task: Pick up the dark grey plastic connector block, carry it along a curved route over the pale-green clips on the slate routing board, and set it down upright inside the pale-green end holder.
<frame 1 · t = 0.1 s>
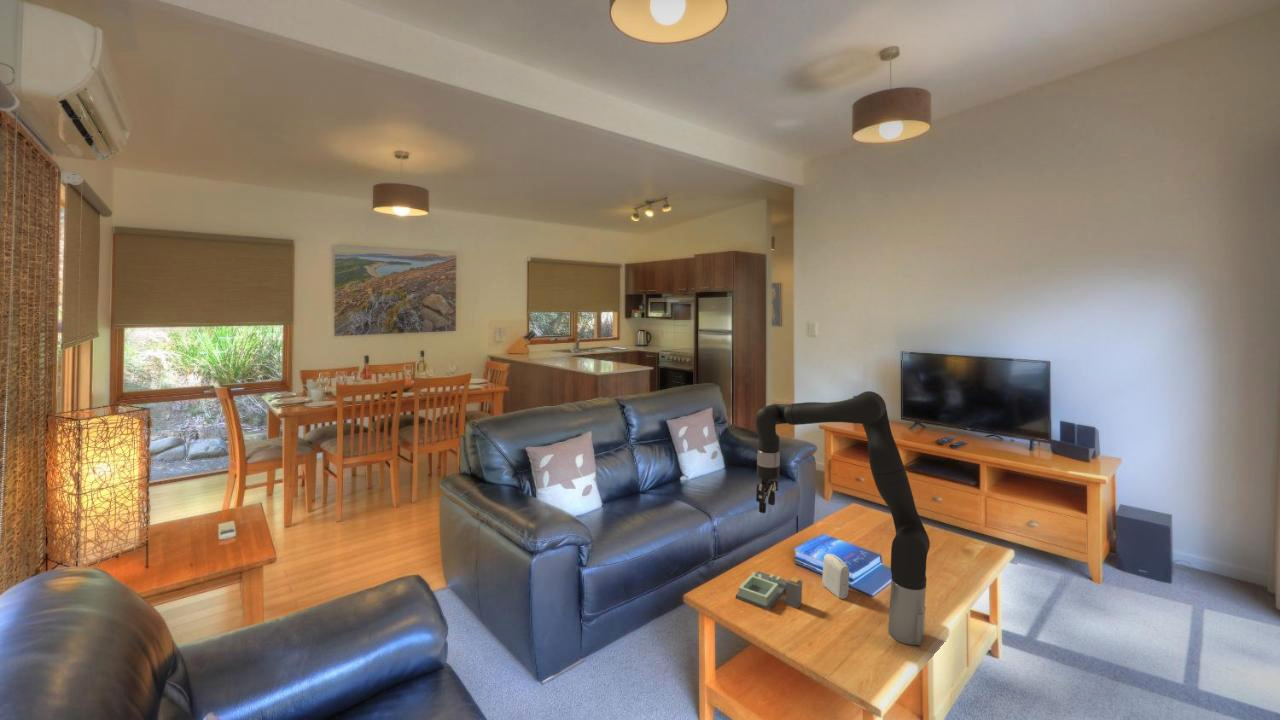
hand: (767, 508, 178), 29 cm above the table, fingers open, 8 cm apart
connector: (793, 603, 171), on the table
photo printer: (834, 591, 179), on the table
routing board: (763, 591, 179), on the table
end holder: (758, 597, 175), resting on routing board
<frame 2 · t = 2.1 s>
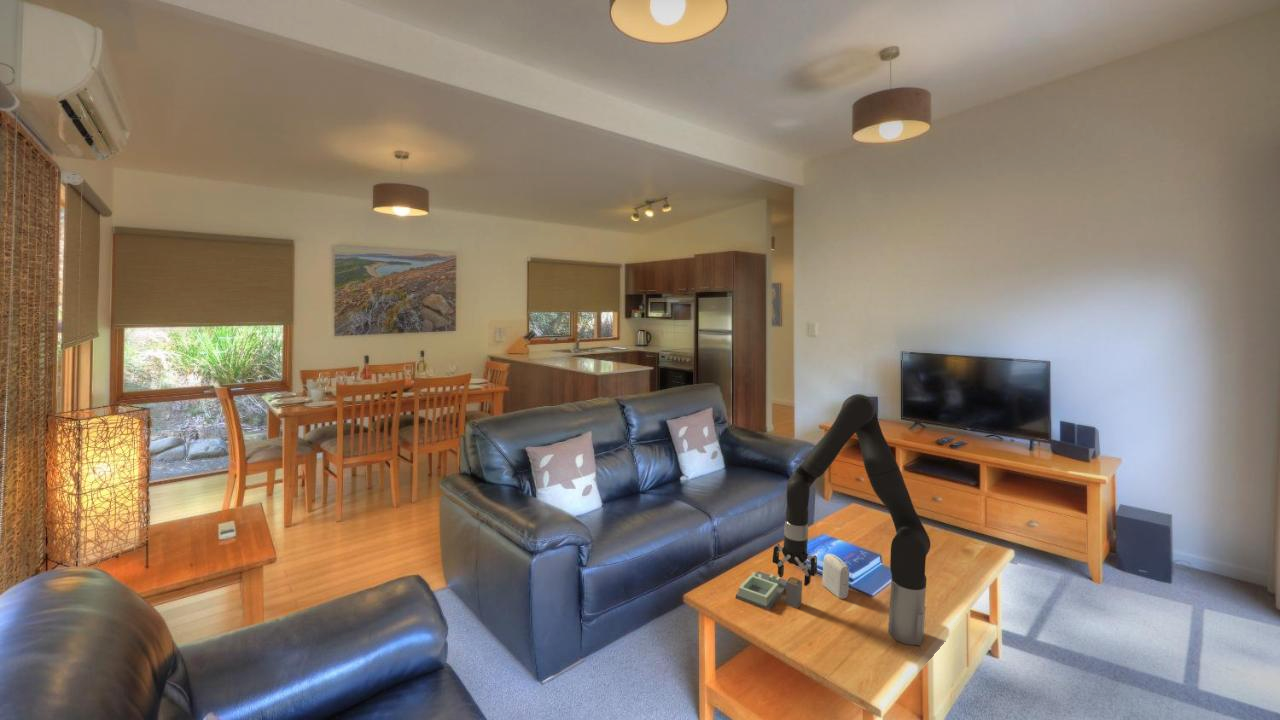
hand: (793, 580, 171), 8 cm above the table, fingers open, 8 cm apart
nothing on the table moved.
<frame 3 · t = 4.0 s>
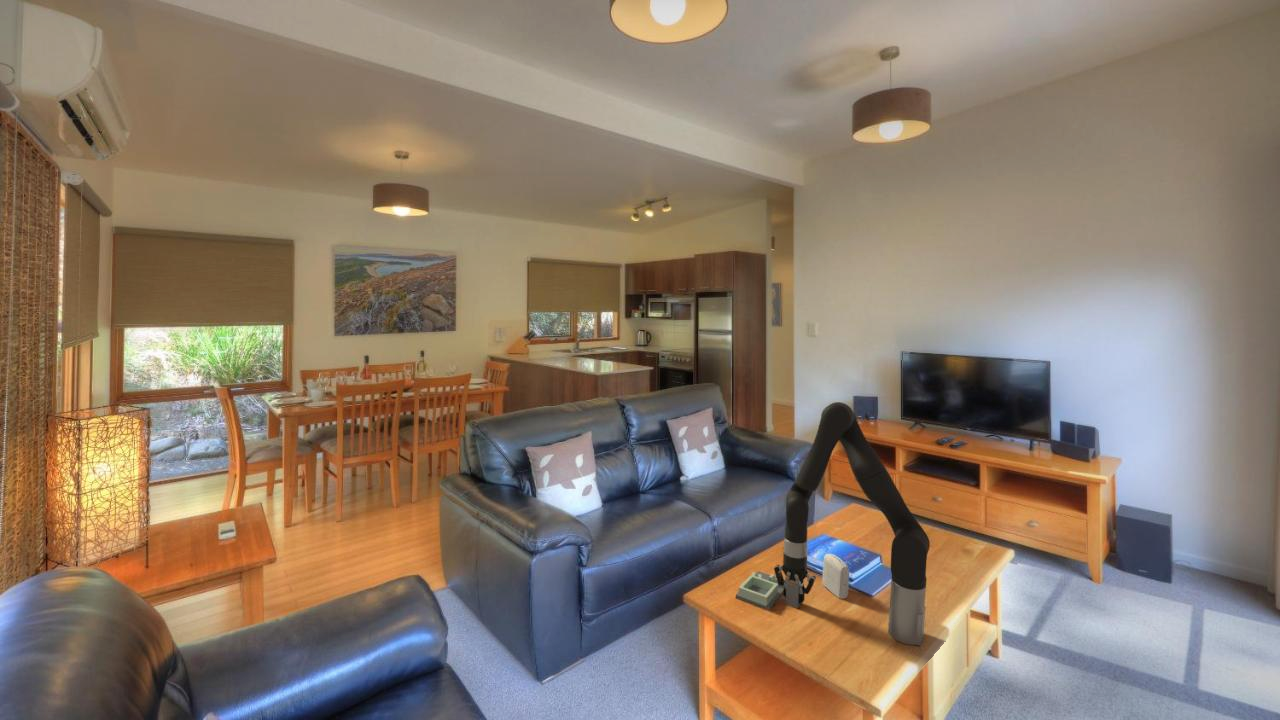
hand: (793, 600, 171), 1 cm above the table, fingers closed on connector, 4 cm apart
connector: (793, 603, 171), on the table, touching gripper
everything else where it was.
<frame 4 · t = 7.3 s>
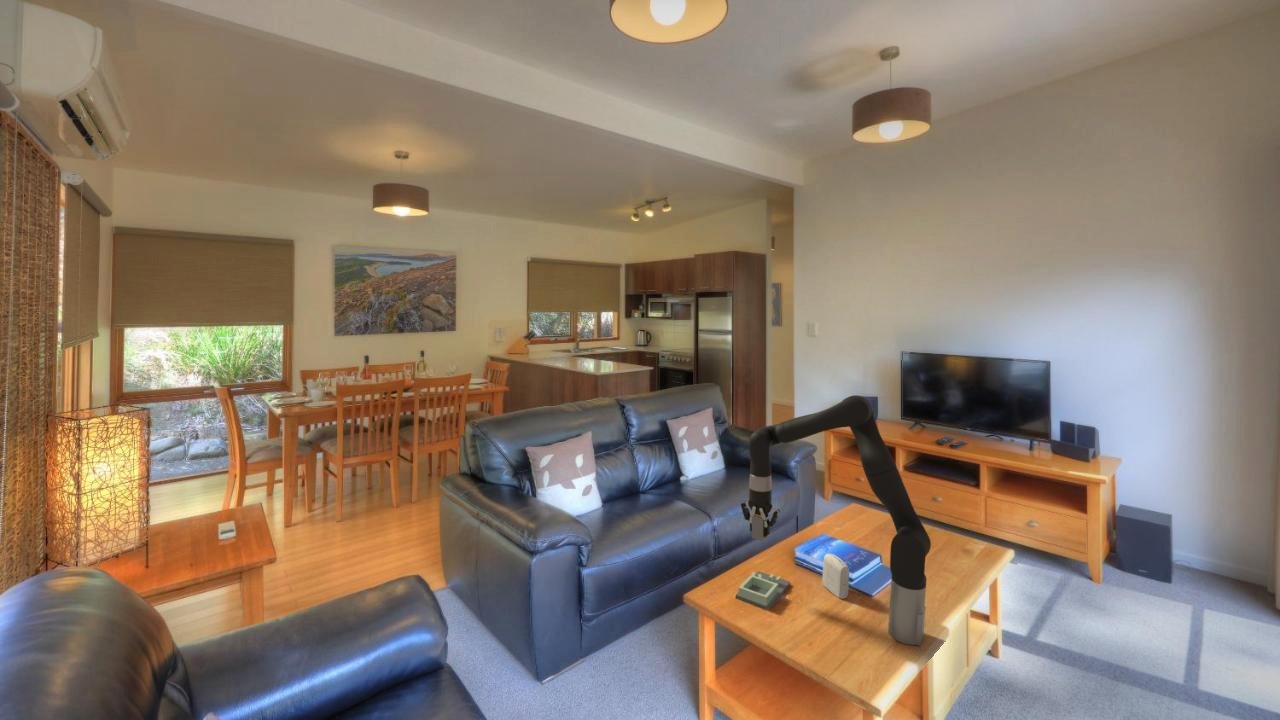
hand: (759, 534, 177), 20 cm above the table, fingers closed on connector, 4 cm apart
connector: (759, 537, 178), point 19 cm above the table, touching gripper
everything else where it was.
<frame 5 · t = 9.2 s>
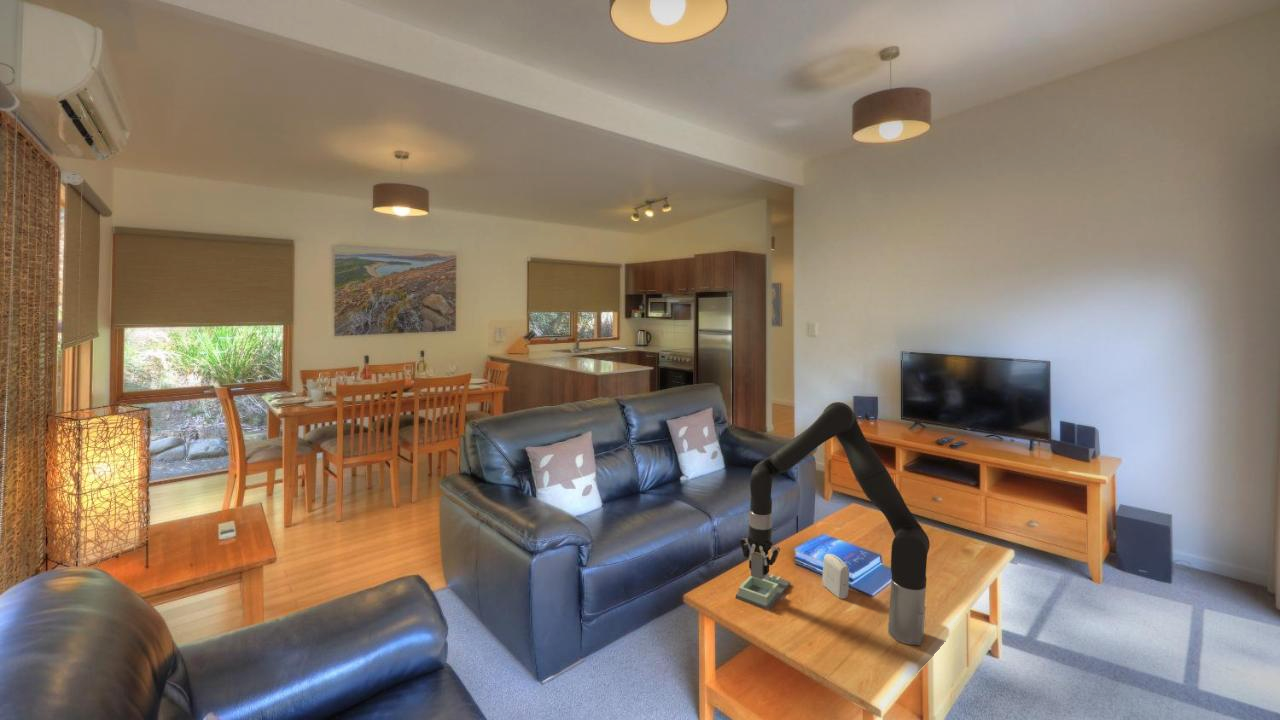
hand: (758, 571, 174), 9 cm above the table, fingers closed on connector, 4 cm apart
connector: (758, 575, 174), point 8 cm above the table, touching gripper
everything else where it was.
when the fingers open (4 cm above the table, at t = 10.9 s): connector drops 1 cm, resting on routing board.
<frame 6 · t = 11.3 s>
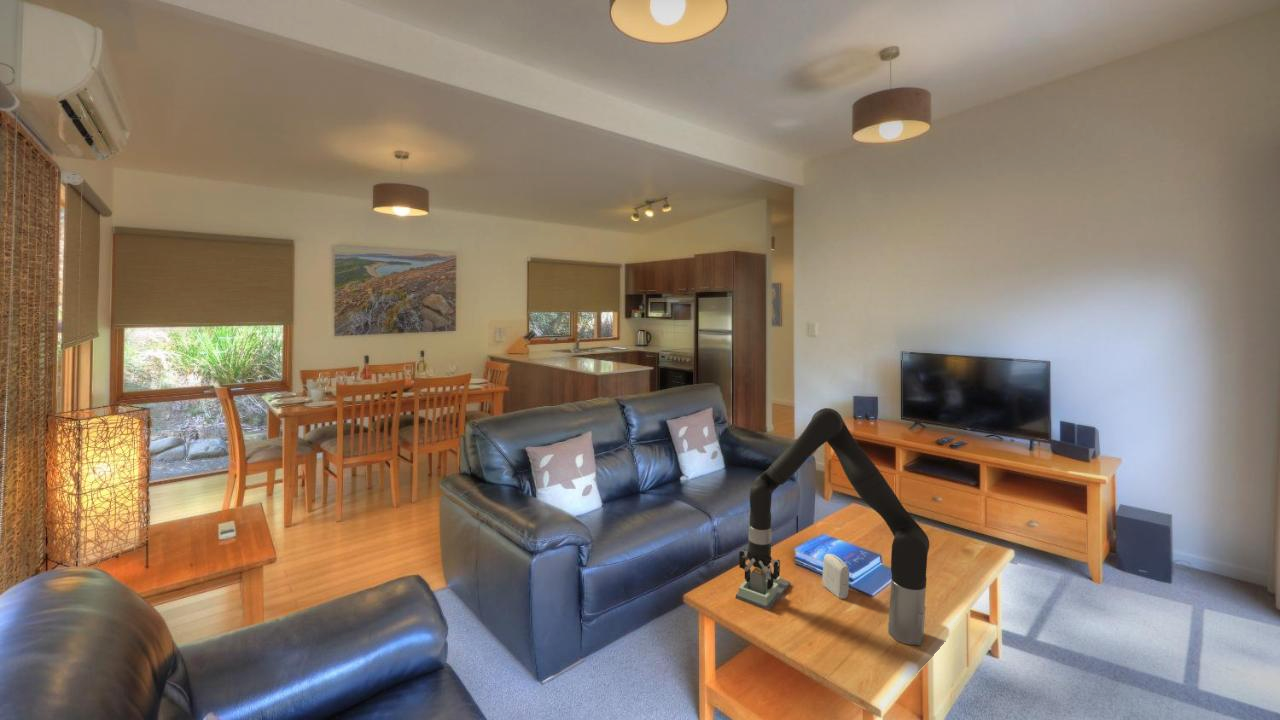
hand: (758, 584, 174), 5 cm above the table, fingers open, 7 cm apart
connector: (758, 593, 175), point 1 cm above the table, touching routing board
everything else where it was.
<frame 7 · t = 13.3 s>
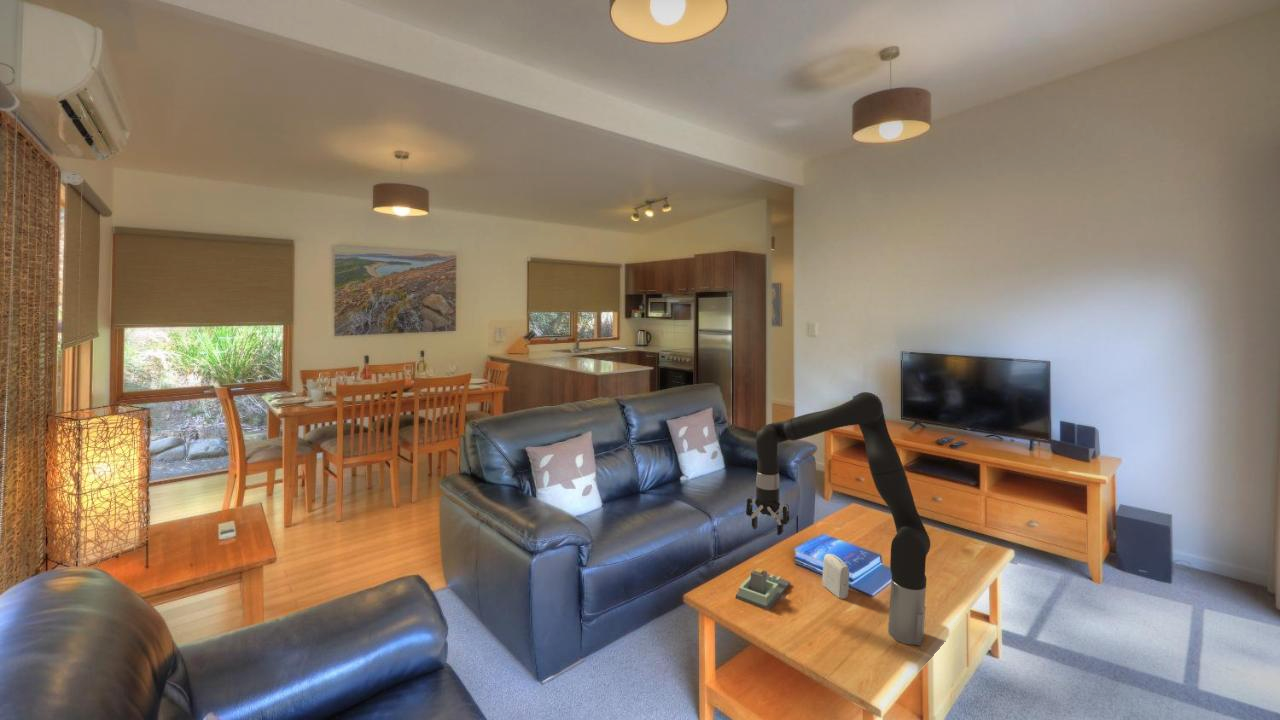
hand: (767, 531, 173), 23 cm above the table, fingers open, 8 cm apart
nothing on the table moved.
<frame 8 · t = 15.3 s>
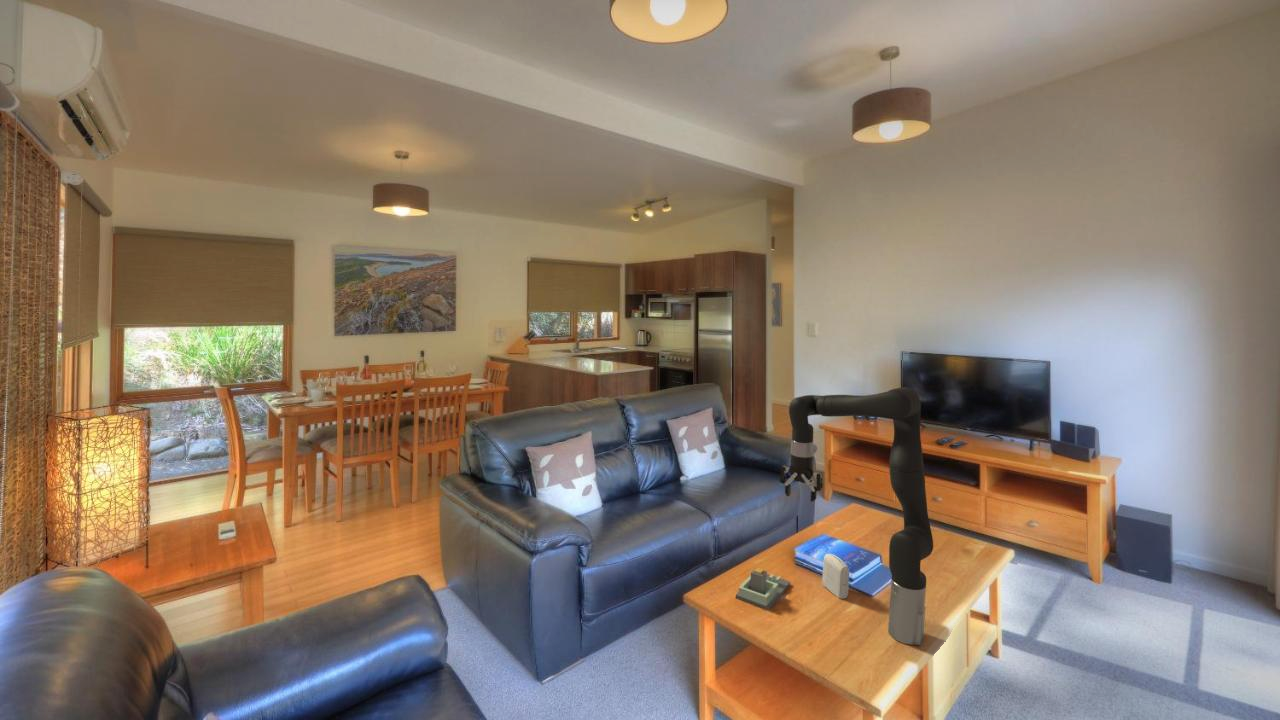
hand: (800, 498, 179), 32 cm above the table, fingers open, 8 cm apart
nothing on the table moved.
at the end: connector inside the target area on the end holder (0.1 cm from its centre), point 1.2 cm above the end holder's base; connector tilted 0°; the gripper is holding nothing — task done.
